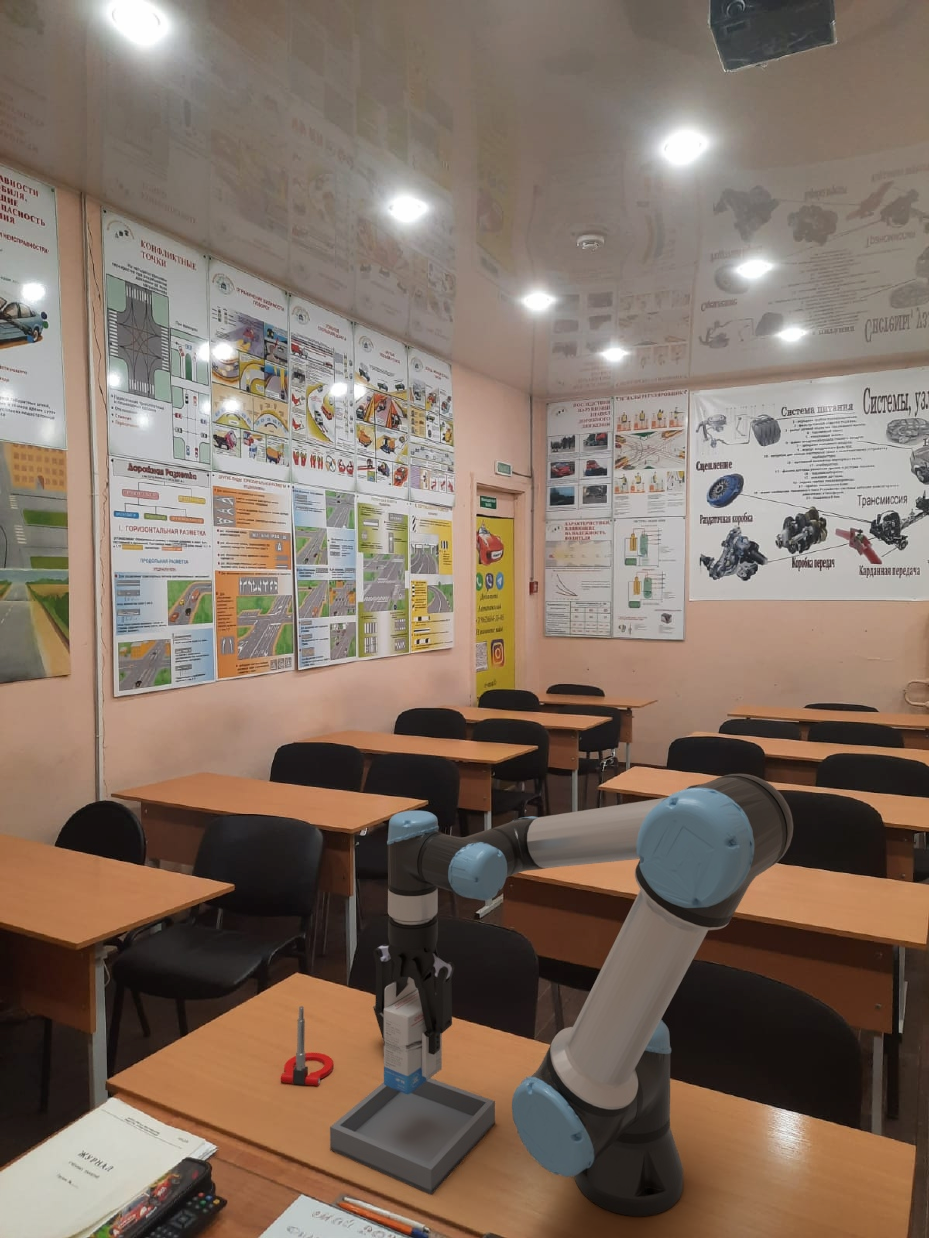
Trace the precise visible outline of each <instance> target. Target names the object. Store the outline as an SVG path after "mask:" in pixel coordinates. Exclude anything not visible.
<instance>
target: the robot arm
mask: <svg viewBox="0 0 929 1238" xmlns="http://www.w3.org/2000/svg"><path fill="white" fill-rule="evenodd" d="M438 823H439V821H438V816H436V815H435V814H434V813H432V812H429V811H426V810H406V811H401V812H397V813H395V814H393V815H392V816H391V817H390V819H389V822H388V831H387V832H388V833H387V841H386V844H387V874H388V875H387V876H388V877H387V880H388V881H387V883H388V885H387V913H388V915H389V917H388V918H387V937H388V942H389V943H388V945H387V944H386V943H384V944H382V945H380V946H378V947H377V948H375V949H374V950H373V951H372V953H373V955H372V956H373V958H374V962H375V1003H374V1004H375V1005H374V1006H375V1009H376V1012H377V1013H382V1014H383V1015H384V995H385V988H386V987H387V986H388V985H390V984H392V983H394V982H395V981H396V997H397V996H398V995H399V994H400V993H401V992H402V991H403V990H404V989H405V988H406V986H407V985H408V983H407V981H408V977H410V978H412V979H413V980H414V983H415V987H416V988H417V989H418V992H419V997H420V1002H421V1006H422V1011H423V1016H424V1021H425V1026H426V1030H425V1031H424V1032H423V1033H422V1076H424V1077H427V1076H428V1075H429V1074H430V1073H432V1072H433V1071H434V1070H435V1069H436V1053H437V1052H438V1051H439V1049H440V1034H441V1033H442V1034H443V1033H444V1032H445V1031H446V1030H447V1031H448V1029H449V1028H450V1027H452V1025H453V1003H452V1002H453V1001H452V1000H453V998H452V997H453V993H452V990H453V989H452V977H453V974H454V970H455V964H454V962H452V961H449V962H445V961H443V960H442V959H441V958H440V957H439V953H438V950H437V942H438V938H439V937H438V935H439V926H438V925H439V924H438V923H439V922H438V921H439V918H438V916H437V914H438V909H439V908H438V906H439V905H438V903H439V902H438V900H439V899H438V897H439V895H438V891H439V890H438V888H440V889H443V890H446V891H448V892H451V893H454V894H457V895H459V896H461V897H463V898H467V899H475V900H479V901H488V900H492V899H493V898H495V897H496V896H498V895H497V894H498V892H499V891H500V890H502V889H503V887H504V885H505V883H506V880H507V878H510V877H511V876H514V875H516V874H519V873H520V874H521V873H523V872H528V871H536V870H544V869H551V868H552V869H553V868H563V867H571V866H572V867H573V866H581V865H583V866H584V865H593V864H601V863H612V862H613V863H614V862H622V861H624V862H625V861H632V860H639V861H638V863H637V864H636V867H635V869H634V878H635V882H636V883H637V885H638V888H639V891H638V893H637V895H636V898H635V899H634V901H633V904H632V906H631V908H630V910H629V912H628V914H627V916H626V918H625V920H624V922H623V924H622V926H621V928H620V931H619V932H618V934H617V937H616V938H615V941H614V943H613V944H612V947H611V948H610V950H609V953H608V955H607V957H606V958H605V960H604V963H603V965H602V967H601V969H600V971H599V972H598V975H597V977H596V980H595V981H594V984H593V986H592V988H591V990H590V991H589V994H588V995H587V998H586V1000H585V1002H584V1004H583V1005H582V1007H581V1010H580V1012H579V1014H578V1016H577V1019H576V1020H575V1022H574V1024H573V1026H569V1027H565V1028H563V1029H561V1030H560V1031H558V1033H557V1034H556V1035H555V1036H554V1038H553V1039H552V1040H551V1041H552V1042H551V1043H550V1046H549V1047H548V1050H547V1051H546V1053H545V1056H544V1057H543V1059H542V1061H541V1064H540V1065H539V1067H538V1068H537V1070H536V1071H535V1072H534V1073H533V1074H532V1075H531V1076H527V1077H525V1078H523V1080H522V1081H521V1084H519V1085H518V1086H517V1087H516V1089H515V1090H514V1092H513V1096H512V1099H511V1114H512V1120H513V1122H514V1125H515V1127H516V1130H517V1135H518V1136H519V1139H520V1141H521V1142H522V1143H523V1145H524V1147H525V1149H526V1151H527V1152H528V1153H529V1154H530V1156H531V1157H532V1158H533V1159H534V1160H535V1161H536V1162H537V1163H538V1165H540V1166H541V1167H542V1168H544V1169H545V1170H546V1171H547V1172H549V1173H551V1174H553V1175H557V1176H558V1175H560V1176H562V1177H565V1178H572V1177H574V1181H575V1183H576V1185H577V1187H578V1189H579V1190H580V1192H581V1193H582V1194H583V1195H584V1196H585V1197H586V1198H587V1199H589V1200H590V1201H591V1202H592V1203H594V1204H595V1205H596V1206H598V1207H600V1208H603V1209H605V1210H607V1211H608V1212H612V1213H615V1214H617V1215H622V1216H630V1217H647V1216H654V1215H658V1214H660V1213H664V1212H665V1211H667V1210H669V1209H671V1208H672V1207H673V1206H674V1205H675V1204H677V1202H679V1199H680V1198H681V1197H682V1195H683V1192H684V1191H683V1190H684V1170H683V1164H682V1163H683V1162H682V1160H681V1156H680V1153H679V1150H678V1148H677V1145H676V1142H675V1138H674V1136H673V1133H672V1130H671V1117H670V1116H671V1053H672V1047H671V1044H670V1041H671V1040H670V1031H669V1028H668V1026H667V1025H666V1023H665V1022H664V1021H663V1020H662V1019H663V1016H664V1014H665V1012H666V1010H667V1008H668V1007H669V1005H670V1003H671V1002H672V999H673V998H674V995H675V994H676V992H677V990H678V989H679V986H680V984H681V982H682V981H683V978H684V977H685V975H686V973H687V971H688V969H689V967H690V966H691V964H692V961H693V960H694V958H695V956H696V954H697V952H698V951H699V949H700V946H701V945H702V943H703V942H704V939H705V937H706V935H707V933H708V931H715V930H716V931H717V930H721V929H723V928H725V927H726V926H727V925H729V923H730V921H731V920H732V918H733V916H734V915H735V913H736V910H737V909H738V907H739V906H740V904H741V901H742V900H743V898H744V896H745V894H746V892H747V890H748V888H749V887H750V885H751V884H752V883H753V881H754V879H755V878H756V877H758V876H759V875H761V874H762V873H763V872H764V873H765V872H766V871H767V870H768V869H770V868H772V867H773V866H774V865H776V864H777V863H778V862H779V861H780V860H781V859H783V857H784V856H785V854H786V853H787V851H788V849H789V847H790V846H791V842H792V838H793V833H794V821H793V815H792V811H791V809H790V806H789V804H788V803H787V801H786V800H785V798H784V796H783V794H782V793H780V791H779V790H778V789H777V788H776V787H774V785H772V784H771V783H769V782H768V781H766V780H764V779H762V778H760V777H758V776H755V775H753V774H752V775H751V774H747V773H730V774H725V775H723V776H720V777H718V778H716V779H713V780H709V781H708V782H705V783H700V784H693V785H689V786H687V787H685V788H684V789H682V790H679V791H677V792H673V793H672V794H671V795H669V796H668V797H664V798H662V797H661V798H657V799H655V798H654V799H649V800H648V799H647V800H644V801H643V800H642V801H637V802H629V803H623V804H618V805H617V804H616V805H610V806H605V807H604V806H603V807H599V808H598V807H597V808H591V809H590V808H589V809H584V810H578V811H573V812H572V811H571V812H565V813H560V814H558V813H557V814H553V815H546V816H539V817H538V816H533V815H532V816H525V817H523V816H522V817H519V818H516V819H513V820H512V821H510V822H508V823H507V822H506V823H504V824H501V825H499V826H496V827H492V828H489V829H485V830H483V831H479V832H477V833H474V834H470V835H467V836H465V837H461V836H460V837H459V836H453V835H450V834H446V833H444V832H441V831H439V828H440V826H439V825H438ZM392 962H393V964H394V967H393V971H392ZM433 968H435V969H434V970H435V972H434V970H433ZM435 977H436V979H435ZM434 980H435V985H434Z"/></svg>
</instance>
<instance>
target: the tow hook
mask: <svg viewBox="0 0 929 1238" xmlns="http://www.w3.org/2000/svg"><path fill="white" fill-rule="evenodd" d="M298 1009H299V1010H298V1019H297V1033H296V1034H297V1035H296V1036H297V1041H296V1042H297V1043H296V1044H297V1045H296V1046H297V1050H296V1052H295V1055H294V1056H293V1057H291V1058H289V1059H288V1060H286V1062H285V1064H284V1068H283V1070H284V1071H283V1073H282V1074H281V1075H280V1082H281V1083H285V1084H293V1085H299V1086H317V1087H318V1086H320V1083H321V1079H323V1078H325V1077H327V1076H329V1075H330V1074H331V1072H333V1070H334V1061H333V1058H331V1056H329V1055H327V1054H324V1053H320V1052H305V1027H306V1026H305V1023H306V1022H305V1018H304V1013H305V1012H304V1010H305V1009H304V1006H303V1005H301V1006H299V1007H298ZM310 1061H314V1062H319V1063H322V1065H323V1067H322V1068H320V1069H318V1070H316V1071H312V1072H310V1073H309V1066H306V1062H310Z"/></svg>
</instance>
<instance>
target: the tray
mask: <svg viewBox="0 0 929 1238" xmlns="http://www.w3.org/2000/svg"><path fill="white" fill-rule="evenodd" d="M495 1124H496V1101H495V1100H493V1099H490V1098H487V1097H484V1096H482V1095H479V1094H476V1093H474V1092H470V1091H468V1090H465V1089H462V1088H460V1087H456V1086H453V1085H451V1084H448V1083H445V1082H443V1081H439V1080H437V1079H434V1078H432V1077H431V1078H430V1079H428V1080H427V1081H426V1082H424V1083H423V1084H422V1085H420V1086H419V1087H418V1088H416V1089H415V1090H414V1091H413V1092H411V1093H410V1094H409V1095H407V1094H405V1093H402V1092H400V1091H398V1090H395V1089H393V1088H391V1087H388V1086H386V1085H384V1081H383V1082H382V1083H381V1084H380V1085H379V1086H377V1087H375V1089H373V1090H372V1091H371V1092H370V1093H369V1094H367V1095H366V1096H364V1098H363V1099H361V1100H360V1102H358V1103H357V1104H355V1106H354V1107H352V1108H351V1109H349V1111H347V1112H346V1113H345V1114H344V1115H343V1116H341V1117H340V1118H338V1119H337V1120H336V1122H334V1123H333V1124H332V1125H331V1126H330V1127H329V1135H330V1137H329V1141H330V1142H329V1143H330V1145H329V1146H330V1147H329V1149H330V1151H331V1150H332V1151H331V1152H333V1151H334V1153H336V1154H339V1155H340V1156H343V1157H344V1158H347V1159H348V1160H349V1159H350V1160H351V1161H354V1162H356V1163H358V1164H361V1165H363V1166H365V1167H368V1168H370V1169H371V1170H374V1171H376V1172H379V1173H381V1174H383V1175H386V1176H388V1177H390V1178H392V1179H395V1180H396V1181H399V1182H401V1183H404V1184H406V1185H409V1186H410V1187H412V1188H415V1189H417V1190H420V1191H421V1192H424V1193H426V1194H429V1195H430V1196H431V1195H433V1193H434V1192H435V1191H437V1189H438V1188H440V1186H441V1185H442V1183H444V1182H445V1180H446V1179H447V1178H448V1177H449V1176H450V1174H451V1173H452V1172H453V1171H454V1170H455V1169H456V1168H457V1167H458V1166H459V1165H460V1163H461V1162H462V1161H463V1160H464V1159H465V1157H467V1155H468V1154H469V1153H470V1152H471V1151H472V1149H474V1147H475V1146H476V1145H477V1144H478V1143H479V1142H480V1141H481V1140H482V1138H483V1137H484V1136H485V1135H486V1134H487V1133H488V1132H489V1130H491V1128H492V1127H493V1126H494V1125H495Z"/></svg>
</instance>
